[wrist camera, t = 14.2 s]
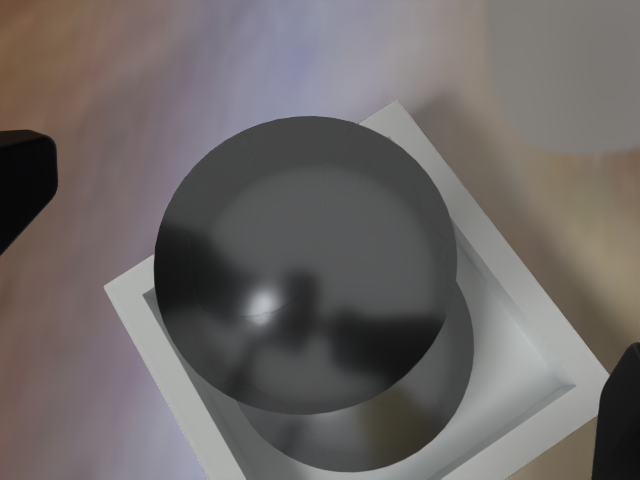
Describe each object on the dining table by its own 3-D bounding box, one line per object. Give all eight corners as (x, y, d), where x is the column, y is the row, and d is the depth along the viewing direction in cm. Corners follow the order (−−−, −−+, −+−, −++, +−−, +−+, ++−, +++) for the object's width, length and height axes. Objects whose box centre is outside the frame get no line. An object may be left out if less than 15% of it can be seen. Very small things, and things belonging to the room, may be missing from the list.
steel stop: (313, 517, 20) (190, 747, 7) (192, 310, 22) (-80, 182, 9) (516, 378, 20) (764, 346, 7) (379, 189, 22) (383, -101, 9)
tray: (298, 605, 20) (289, 628, 18) (126, 295, 23) (103, 286, 21) (601, 396, 20) (625, 396, 18) (395, 123, 23) (397, 98, 22)
